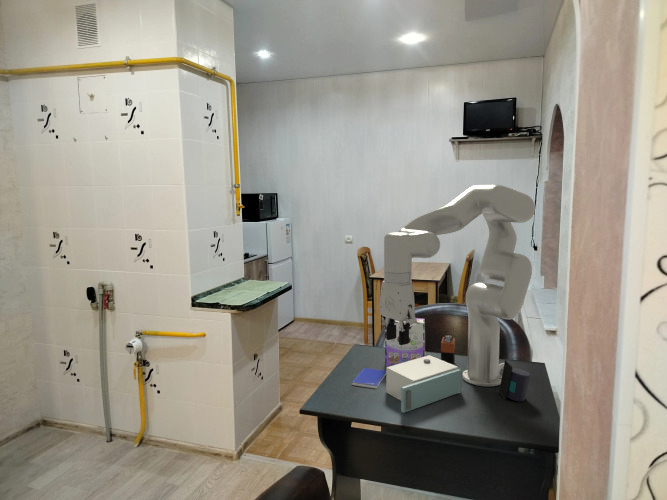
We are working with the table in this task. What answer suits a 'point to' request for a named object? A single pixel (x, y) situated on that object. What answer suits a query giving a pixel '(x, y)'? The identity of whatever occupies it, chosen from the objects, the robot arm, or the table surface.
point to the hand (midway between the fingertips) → (397, 340)
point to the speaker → (514, 383)
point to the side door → (431, 390)
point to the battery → (448, 349)
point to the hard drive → (369, 378)
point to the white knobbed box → (414, 373)
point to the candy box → (406, 345)
